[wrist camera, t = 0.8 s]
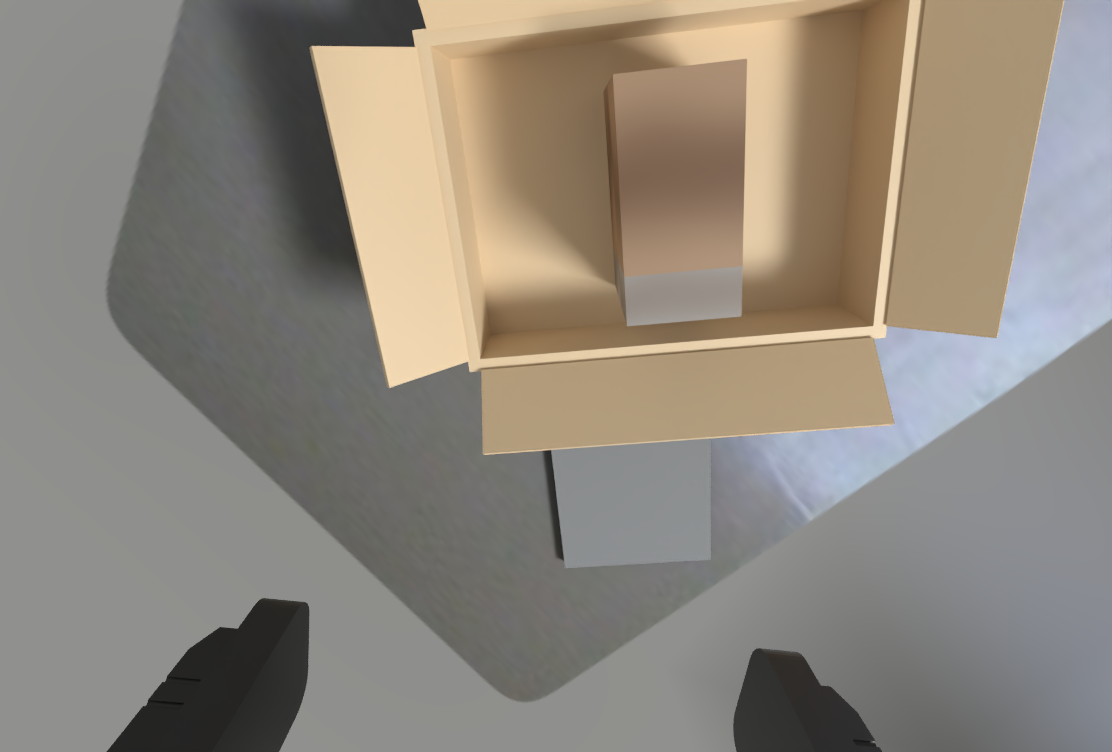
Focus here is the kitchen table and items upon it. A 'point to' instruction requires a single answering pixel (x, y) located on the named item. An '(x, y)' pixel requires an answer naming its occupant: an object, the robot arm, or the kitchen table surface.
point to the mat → (634, 503)
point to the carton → (769, 203)
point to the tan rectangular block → (677, 190)
